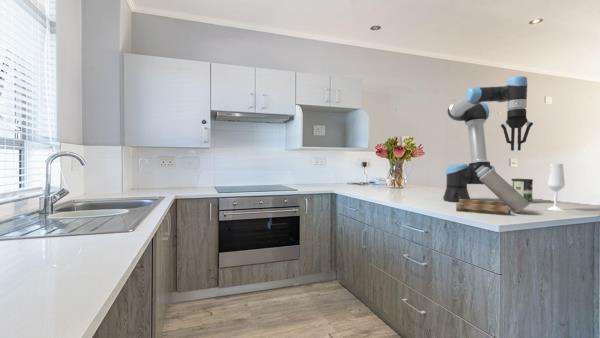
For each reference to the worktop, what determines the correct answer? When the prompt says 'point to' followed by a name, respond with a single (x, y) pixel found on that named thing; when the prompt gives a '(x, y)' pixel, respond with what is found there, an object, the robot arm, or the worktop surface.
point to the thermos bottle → (501, 188)
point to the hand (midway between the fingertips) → (515, 157)
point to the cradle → (482, 207)
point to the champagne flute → (556, 182)
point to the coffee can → (523, 187)
